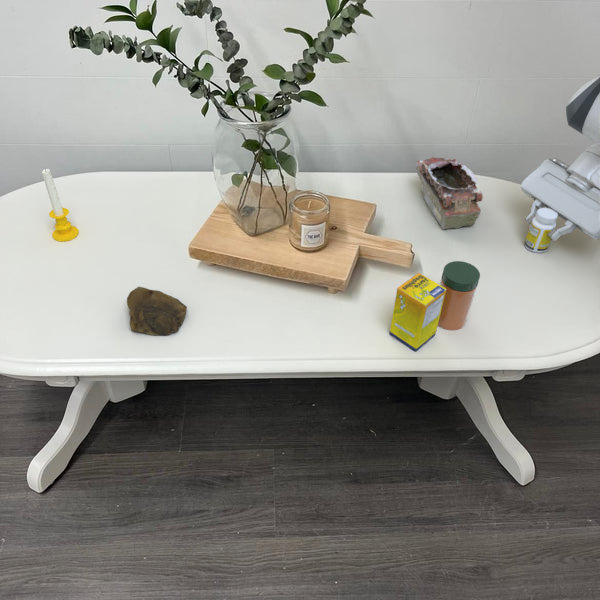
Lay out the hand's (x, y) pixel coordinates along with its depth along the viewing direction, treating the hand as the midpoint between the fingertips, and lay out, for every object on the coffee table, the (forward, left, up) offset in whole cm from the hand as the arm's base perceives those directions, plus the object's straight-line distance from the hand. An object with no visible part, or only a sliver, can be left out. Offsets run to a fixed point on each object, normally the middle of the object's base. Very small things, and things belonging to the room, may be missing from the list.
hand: (539, 230), depth 117 cm
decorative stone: (-10, +77, -5) cm, 78 cm away
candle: (+18, +96, -5) cm, 98 cm away
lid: (-18, +25, +6) cm, 32 cm away
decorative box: (+17, +15, -5) cm, 24 cm away
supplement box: (-21, +33, -5) cm, 40 cm away
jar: (-18, +25, -4) cm, 31 cm away
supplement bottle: (0, -1, -5) cm, 5 cm away
